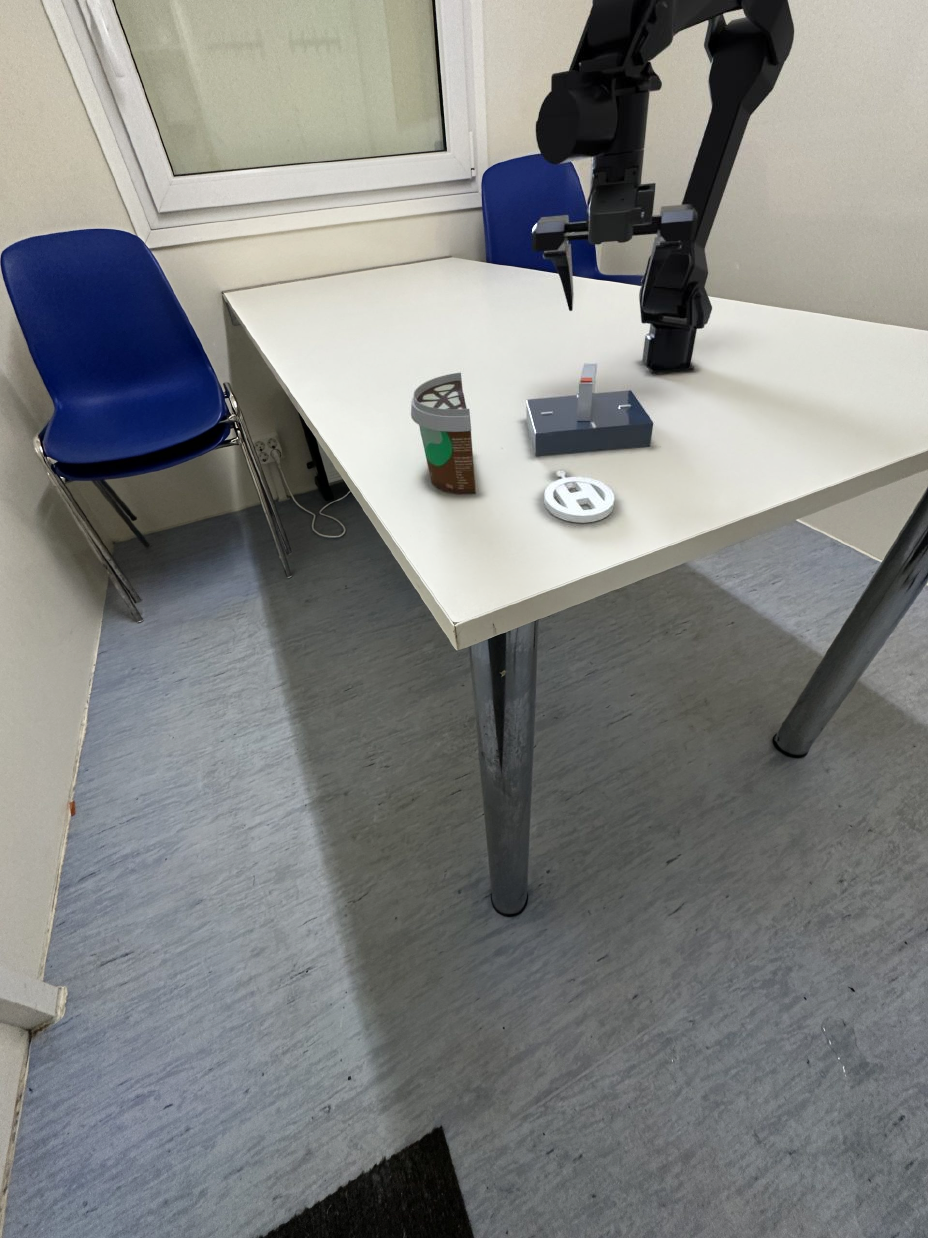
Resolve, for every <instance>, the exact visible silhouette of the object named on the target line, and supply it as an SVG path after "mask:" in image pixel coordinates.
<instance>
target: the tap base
mask: <svg viewBox="0 0 928 1238" xmlns="http://www.w3.org/2000/svg"><path fill="white" fill-rule="evenodd" d="M525 403H526V406H525V409H526V410H525V413H526V415H525V416H526V417H525V418H526V419H525V420H526V425H527V429H528V433H529V437H530V441H531V445H532V448H533V452H534V456H535V457H546V456H547V457H548V456H558V455H559V456H560V455H568V454H582V453H591V452H593V453H594V452H603V451H604V452H605V451H614V450H616V451H617V450H626V449H627V450H628V449H639V448H648V447H649V448H650V447H651V443H652V438H653V437H652V435H653V429H654V421H653V420H652V418H651V417H650V415H649V414H648V412H647V411H646V409H645V408H644V407H643V406H642V404H641V402H640V401H639V399H638V398H637V396H636V395H635V393H634V392H633V391H632V389H627V390H617V391H608V392H607V391H605V392H595V399H594V404H593V409H592V414H591V419H590V421H577V409H578V392H576V394H574V395H573V394H572V395H562V396H552V397H540V398H529V399H526V400H525Z"/></svg>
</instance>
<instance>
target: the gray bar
mask: <svg viewBox="0 0 928 1238" xmlns="http://www.w3.org/2000/svg"><path fill="white" fill-rule="evenodd" d="M597 371H598V363H596V362H595V363H584V364H583V365H582V369H581V373H580V374H581V375H580V378H579V382H578V391H577V393H578V409H577V421H590V419H591V414H592V409H593V404H594V399H595V393H596V384H597Z"/></svg>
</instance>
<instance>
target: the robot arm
mask: <svg viewBox="0 0 928 1238" xmlns="http://www.w3.org/2000/svg"><path fill="white" fill-rule="evenodd" d="M591 5H592V6H591V8H590V11H589V15H588V17H587V20H586V22H585V25H584V28H583V30H582V32H581V35H580V38H579V41H578V43H577V45H576V49H575V52H574V55H573V58H572V61H571V63H570V66H569V67H568V68H569V69H568V70H566V71H561V72H560V71H559V72H554V73H552V74H551V76H550V77H551V79H550V91H549V93H548V94H546V96H545V97H544V99H543V101H542V103H541V105H540V108H539V111H538V115H537V120H536V121H535V139H536V144H537V148H538V150H539V152H540V155H541V156H542V158H543V159H544V160H545V162H547V163H548V164H551V165H561V164H566V163H572V162H575V161H581V160H586V159H590V180H589V195H588V198H587V200H586V204H587V205H586V220H583V221H574V222H570V219H569V217H570V216H569V214H563V215H552V216H541V217H540V218H539V219H538V221H537V222H536V223H535V225H534V226H533V227H532V232H531V251H532V252H535V253H536V252H543V253H542V259H544V260H551V262H552V263H553V265H554V267H555V269H556V272H557V274H558V276H559V279H560V282H561V287H562V290H563V294H564V296H565V300H566V305H567V307H568V311H569V312H573V310H574V299H575V298H574V294H575V293H574V279H573V278H574V277H573V276H574V275H573V262H572V259H573V258H572V244H571V243H569V242H572V241H583V240H588V243H589V244H590V245H596V246H597V245H598V246H599V245H601V244H602V243H611V242H612V243H613V242H616V243H619V244H623V243H628V242H630V241H631V240H632V239H633V237H635V236H650V235H656V236H655V237H654V238H653V239H654V241H653V244H652V249H651V254H650V256H649V257H648V259H647V264H646V269H645V272H644V274H643V277H642V279H641V281H640V285H641V286H640V288H639V293H638V301H639V311H640V322H641V324H643V325H645V324H649V331H648V332H649V333H646V334H645V336H644V343H643V351H642V352H643V353H642V358H641V362H642V364H643V365H644V366H645V368H646V369H647V370H648V371H649V372H650V374H652V375H657V374H669V373H678V372H691V371H694V370H695V366H694V365H693V364H692V359H693V353H694V348H695V342H696V338H697V337H696V336H697V333H698V332H697V331H698V330H702V329H704V328H705V326H706V325H708V323H709V320H710V318H711V314H712V312H713V306H712V305H713V304H712V303H711V300H710V297H709V295H708V292H707V290H706V283H707V279H708V276H709V268H708V261H707V255H706V247H707V243H708V240H709V237H710V235H711V231H712V229H713V226H714V223H715V220H716V217H717V214H718V211H719V208H720V206H721V202H722V200H723V197H724V194H725V191H726V188H727V185H728V182H729V179H730V176H731V173H732V170H733V167H734V164H735V162H736V159H737V156H738V153H739V150H740V147H741V144H742V141H743V138H744V135H745V132H746V129H747V126H748V123H749V121H750V119H751V116H752V115H753V113H754V112H755V111H756V110H757V109H758V108H759V106H761V104H762V103H763V102H764V101H765V99H767V97H768V96H769V95H770V94H771V93H772V91H773V90H774V88H775V86H776V84H777V81H778V79H779V77H780V75H781V71H782V70H783V67H784V65H785V62H786V61H787V59H788V57H789V56H790V53H791V51H792V49H793V43H794V39H795V25H794V19H793V17H792V13H791V12H792V11H791V8H790V4H789V0H592V1H591ZM741 10H742V11H743V14H744V17H740V18H735V19H731V20H730V21H729V22H728V23H727V21H726V19H725V16H724V14H727V13H731V12H737V11H741ZM705 22H708V23H707V28H706V31H705V32H706V33H705V38H704V41H703V48H704V50H705V54H706V56H707V58H708V61H709V63H710V67H709V72H708V76H707V84H708V93H709V98H710V105H711V108H710V112H709V115H708V119H707V121H706V125H705V128H704V130H703V134H702V137H701V140H700V143H699V147H698V150H697V153H696V157H695V160H694V162H693V166H692V169H691V172H690V175H689V178H688V181H687V186H686V188H685V191H684V194H683V197H682V201H681V204H676V205H675V204H674V205H663V206H660V213H659V214H654V215H653V213H654V204H655V196H656V183H655V182H652V183H642V180H643V179H642V178H643V177H642V176H643V167H644V155H645V146H646V137H647V136H646V135H647V127H648V126H647V125H648V114H649V105H650V104H649V103H650V93H652V92H658V91H661V89H662V86H663V82H662V80H661V77H660V76H659V74H657V73H656V71H655V70H654V68H653V66H652V62H651V61H653V60H654V59H655V58H656V57H658V56H659V55H660V54H661V53H663V52H664V51H665V50H666V49H667V48H669V47H670V46H671V45H672V43H673V40H674V37H675V36H676V35H677V34H679V33H680V32H682V31H685V30H687V29H689V28H692V27H695V26H697V25H699V24H703V23H705Z"/></svg>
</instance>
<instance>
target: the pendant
mask: <svg viewBox="0 0 928 1238" xmlns="http://www.w3.org/2000/svg"><path fill="white" fill-rule="evenodd" d="M566 474H567V472H566V471H565V470H562V469H561V470H557V471H556V473H555V475H556V477H558V479H556V480H554V481H553V482H550V484H548V485H547V487H546V488H545V490H544V495H543V496H544V498H543V500H544V503H543V504H544V506H545V508H546V509H547V511H548V512H549V513H550V514H551V515H553V516H555V517H556V518H559V519H561V520H564V521H567V522H572V523H581V524H582V523H583V524H584V523H593V522H597V521H600V520H603V519H604V518H607V517H608V516H609V515H610V514H612V512H613V510H614V507H615V494H614V491H613V490H612V489H611V488H610V487H609V485H607V484H606V483H603V482H601V481H600V480H596V479H593V478H590V477H585V476H570V477H566ZM559 478H560V479H559ZM572 489H576V491H575V492H570V491H569V490H572ZM555 498H556V499H557V500H558V502H559V503H558V502H557V501H556V499H555ZM581 505H588V506H589V508H590V509H583V507H582V506H581Z"/></svg>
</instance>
